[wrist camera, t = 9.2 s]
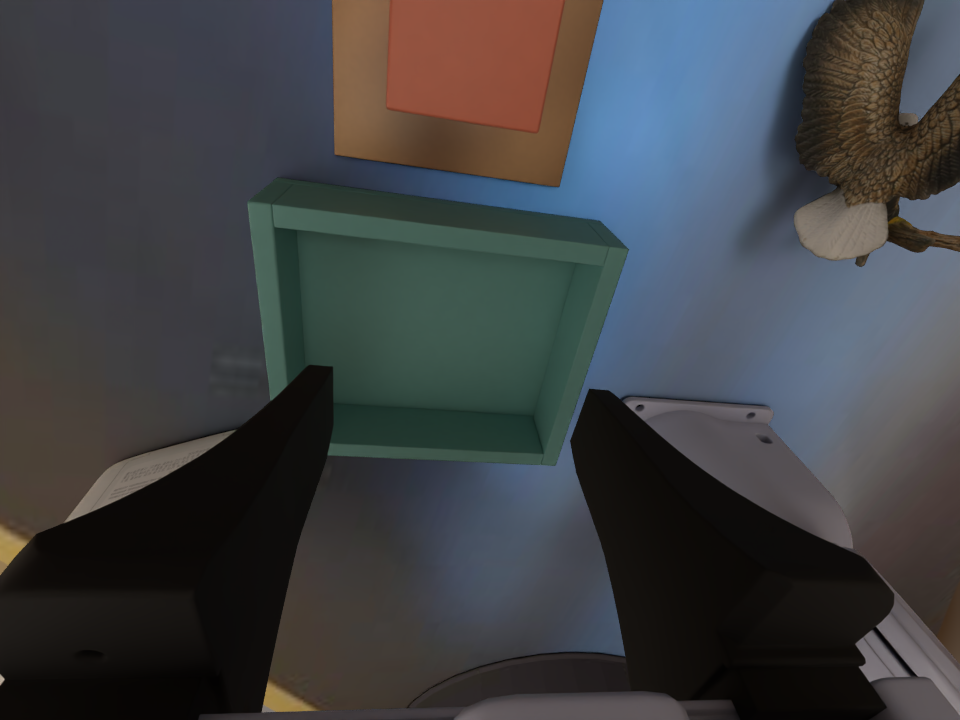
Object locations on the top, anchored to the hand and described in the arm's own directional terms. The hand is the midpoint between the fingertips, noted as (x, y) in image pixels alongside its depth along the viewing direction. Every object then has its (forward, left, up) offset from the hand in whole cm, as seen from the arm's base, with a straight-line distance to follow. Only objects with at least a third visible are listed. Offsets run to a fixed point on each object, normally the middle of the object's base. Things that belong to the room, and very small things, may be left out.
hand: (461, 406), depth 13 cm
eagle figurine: (-16, -9, -10) cm, 20 cm away
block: (+1, -9, -9) cm, 13 cm away
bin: (+1, +3, -10) cm, 10 cm away
